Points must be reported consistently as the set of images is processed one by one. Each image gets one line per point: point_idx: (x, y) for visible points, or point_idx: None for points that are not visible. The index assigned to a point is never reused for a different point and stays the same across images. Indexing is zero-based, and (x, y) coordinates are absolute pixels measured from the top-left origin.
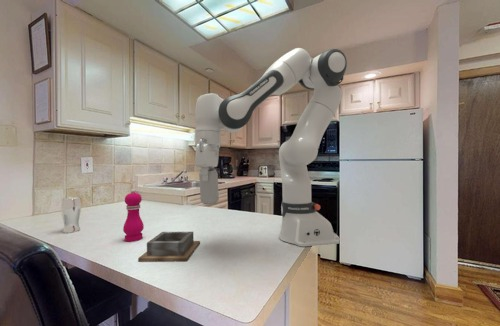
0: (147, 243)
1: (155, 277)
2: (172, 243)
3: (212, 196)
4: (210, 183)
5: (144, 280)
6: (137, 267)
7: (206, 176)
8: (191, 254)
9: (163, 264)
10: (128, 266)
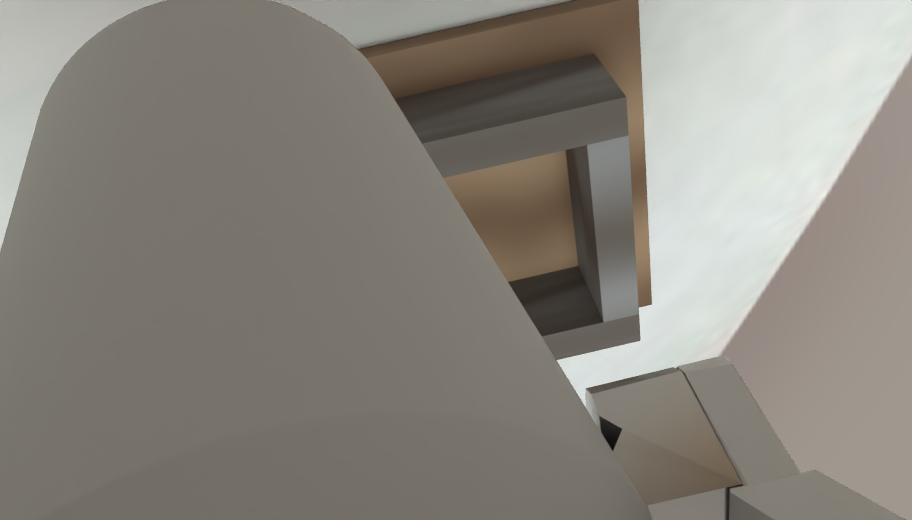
0: (637, 334)
1: (854, 62)
2: (629, 175)
3: (383, 94)
4: (505, 282)
5: (882, 101)
6: (720, 243)
7: (778, 473)
8: (512, 16)
9: (680, 125)
10: (707, 294)
